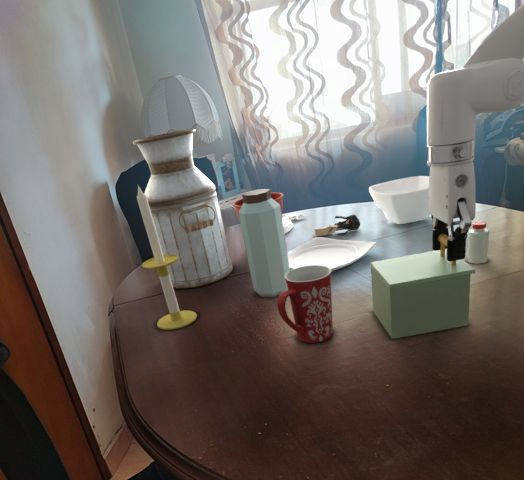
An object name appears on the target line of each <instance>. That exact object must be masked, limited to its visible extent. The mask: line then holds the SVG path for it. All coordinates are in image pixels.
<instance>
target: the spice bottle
mask: <svg viewBox="0 0 524 480" xmlns="http://www.w3.org/2000/svg"><path fill="white" fill-rule="evenodd" d="M471 226H472V227H471V228H472V229H469V230H468V241H467V242H468V245H467V262H468V263H470V264H484V263H486V262H487V261H488V256H489V255H488V254H489V239H490V229H489V228H487V222H486V221H482V220H481V221H479V220H478V221H475V222H472V225H471Z"/></svg>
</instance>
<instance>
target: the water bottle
mask: <svg viewBox="0 0 524 480" xmlns="http://www.w3.org/2000/svg"><path fill="white" fill-rule="evenodd" d="M271 193H272V191H271V188H270V189H269V188H259V189H258V188H257V189H253V190H249V191H245V192H244V193H243V194H242V196H241V197H242V198H243V205H242V206H241V208H240V210H239V217H240V220H239V223H240V222H241V223H240V227H241V232H242V236H243V242H244V247H245V252H246V258H247V262H248V268H249V273H250V279H251V284H252V288H253V290H254V292H256V293H257V294H258V295H259V296H261V297H262V298H274V297H277V296H278V297H279V295H280V294H281V293H282V292H284V291H288V288H287V283H286V280H285V279H284V275H285V274H286V273H287V272H289V271H290V268H289V262H288V255H287V252H288V250H287V243H286V236H285V235H286V234H284V229H283V222H282V218H283V214H282V215H281V209H280V204H279V203H277V202H276V201H275V200H273V199H272V198H271ZM239 217H238V218H239Z"/></svg>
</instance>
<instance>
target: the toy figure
mask: <svg viewBox="0 0 524 480" xmlns="http://www.w3.org/2000/svg"><path fill="white" fill-rule="evenodd" d="M335 219H342V221H338V222H336V223H334V224H333V225H331V224H329V225H326V226H325V227H317V228H313V234H314V237H323V236H324V237H325V236H328V235H330V234H333V235H334V234H335V233H336V232H337V235H338V236H340V235H346V234H347V233H348V232H353V231H354V232H356V231H358V230H359V229H360V227H361V221H360V219H359V218H358V216H357V215H356V214H349V215H347V216H343V215H335V217H334V221H335ZM344 230H345V232H340V231H344Z"/></svg>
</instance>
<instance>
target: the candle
mask: <svg viewBox="0 0 524 480" xmlns="http://www.w3.org/2000/svg"><path fill="white" fill-rule="evenodd" d="M144 193H145V192H143V191H142V189H141V187H140V186H139V184H137V195H136V200H137V204H138V208H139V211H140V214H141V218H142V221H143V224H144V228H145V231H146V235H147V237H148V242H149V244H150V249H151V251H152V254H153V257H152V258H149V259H147V260H145V261H143V263H142V264H141V266H142V268H143V269H145V270H156V271H157V275H158V279H159V281H160V284H161V288H162V292H163V295H164V299H165V302H166V306H167V309H168V312H169V313H168V314H166V315H164V316H162V317H161V318H159V319H158V321H157V323H156V326H157V328H159V329H160V330H165V331H171V330H176V329H181V328H184V327H187V326H188V325H190V324H192V323H193V322H195V321H196V320H197V317H198V314H197V313H196V312H195V311H193V310H187V309H186V310H184V309H183V310H180V307H179V303H178V299H177V295H176V292H175V288H173V285H172V282H171V278H170V275H169V271H168V268H167V266H168V265H170V264H173V263H174V262H176V261H177V260H178V256H177V255H163V253H162V249H161V246H160V242H159V239H158V235H157V232H156V228H155V225H154V221H153V218H152V214H151V211H150V207H149V203H148V200H147V196H146V195H145V194H144Z"/></svg>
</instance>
